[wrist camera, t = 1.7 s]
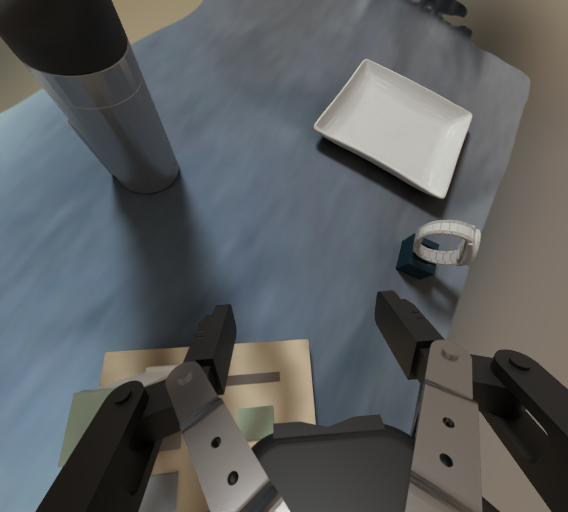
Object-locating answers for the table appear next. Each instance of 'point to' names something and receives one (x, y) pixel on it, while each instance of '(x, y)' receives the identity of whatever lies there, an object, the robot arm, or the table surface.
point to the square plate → (398, 127)
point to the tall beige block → (91, 401)
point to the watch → (424, 253)
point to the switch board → (238, 399)
